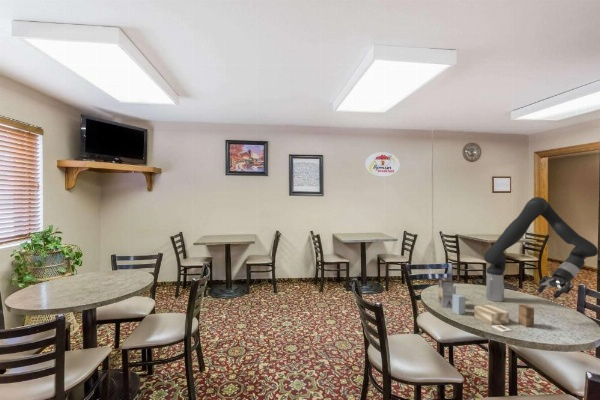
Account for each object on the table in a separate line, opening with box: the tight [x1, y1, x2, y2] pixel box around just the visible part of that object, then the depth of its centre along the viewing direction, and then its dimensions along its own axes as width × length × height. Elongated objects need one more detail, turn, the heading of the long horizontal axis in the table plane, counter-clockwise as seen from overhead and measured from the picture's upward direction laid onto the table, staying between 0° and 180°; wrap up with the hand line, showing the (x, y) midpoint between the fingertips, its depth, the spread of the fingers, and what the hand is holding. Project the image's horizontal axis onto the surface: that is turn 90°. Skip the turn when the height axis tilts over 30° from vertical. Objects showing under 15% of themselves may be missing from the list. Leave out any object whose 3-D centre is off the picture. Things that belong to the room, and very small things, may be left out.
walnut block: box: [518, 304, 535, 328], centre depth 148 cm, size 4×4×10 cm
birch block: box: [473, 304, 510, 326], centre depth 154 cm, size 11×11×6 cm
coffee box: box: [437, 276, 454, 309], centre depth 175 cm, size 9×6×16 cm
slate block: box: [451, 293, 466, 316], centre depth 163 cm, size 4×4×10 cm
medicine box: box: [453, 284, 457, 295], centre depth 188 cm, size 8×4×9 cm, turn 47°
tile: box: [491, 324, 513, 333], centre depth 144 cm, size 6×6×1 cm
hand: (546, 294), depth 149 cm, fingers open, 8 cm apart
